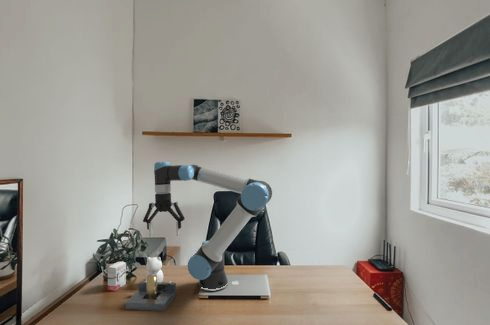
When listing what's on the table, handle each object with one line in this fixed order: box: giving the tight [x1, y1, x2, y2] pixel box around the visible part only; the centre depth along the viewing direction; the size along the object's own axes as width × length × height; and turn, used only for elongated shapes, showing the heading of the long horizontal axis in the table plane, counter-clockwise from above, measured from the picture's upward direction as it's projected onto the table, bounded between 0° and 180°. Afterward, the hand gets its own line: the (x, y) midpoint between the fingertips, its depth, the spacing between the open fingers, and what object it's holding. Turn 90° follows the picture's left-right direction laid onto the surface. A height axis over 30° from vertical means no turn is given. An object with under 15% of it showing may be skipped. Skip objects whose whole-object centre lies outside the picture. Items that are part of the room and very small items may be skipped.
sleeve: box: [147, 274, 157, 299], centre depth 125 cm, size 5×5×12 cm
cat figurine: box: [145, 256, 164, 282], centre depth 145 cm, size 9×12×15 cm
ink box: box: [107, 261, 127, 292], centre depth 141 cm, size 9×5×12 cm, turn 168°
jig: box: [124, 279, 177, 312], centre depth 125 cm, size 18×14×7 cm
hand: (164, 235), depth 133 cm, fingers open, 13 cm apart
